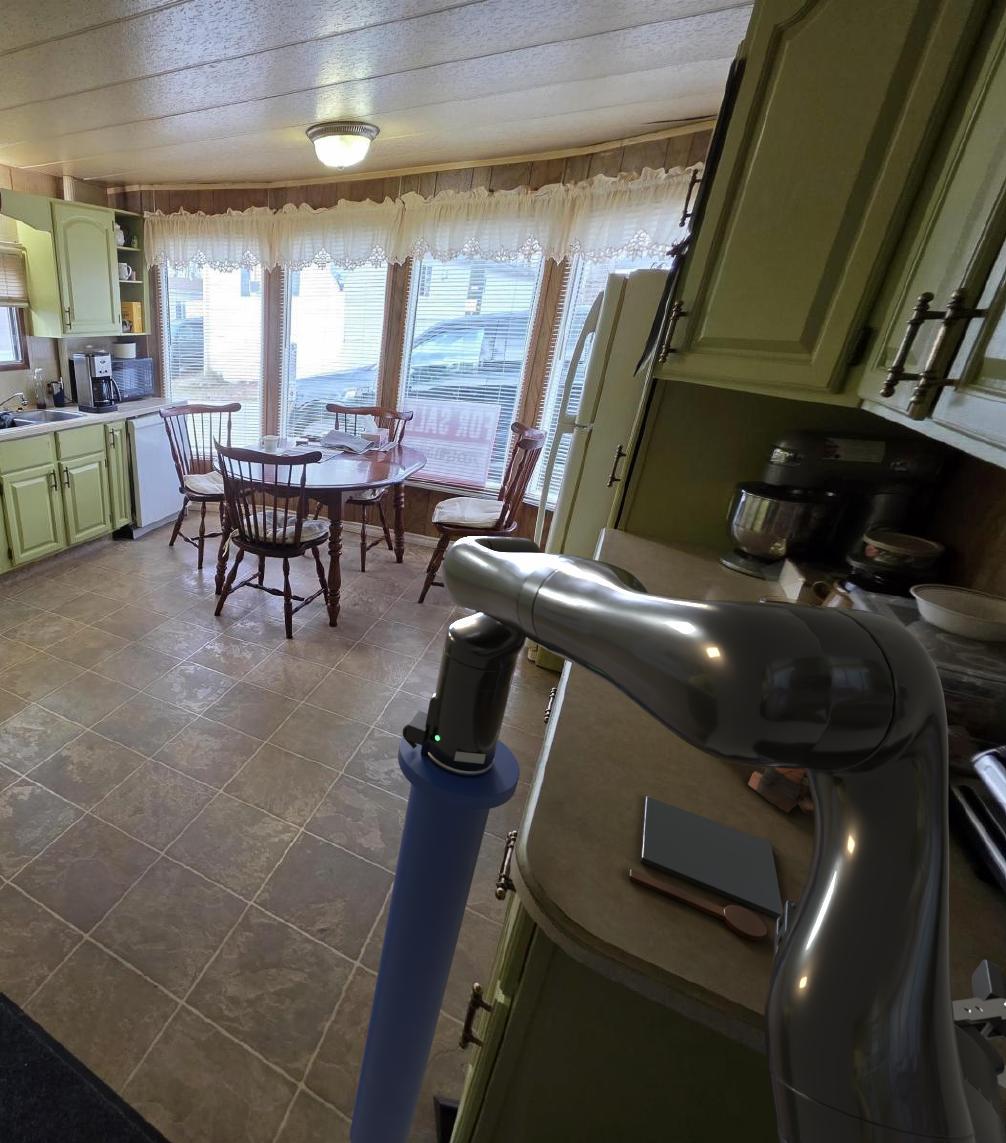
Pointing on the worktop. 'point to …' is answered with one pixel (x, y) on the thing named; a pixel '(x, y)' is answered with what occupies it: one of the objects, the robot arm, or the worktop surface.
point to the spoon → (709, 908)
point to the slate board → (711, 856)
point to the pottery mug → (784, 788)
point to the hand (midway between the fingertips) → (903, 931)
